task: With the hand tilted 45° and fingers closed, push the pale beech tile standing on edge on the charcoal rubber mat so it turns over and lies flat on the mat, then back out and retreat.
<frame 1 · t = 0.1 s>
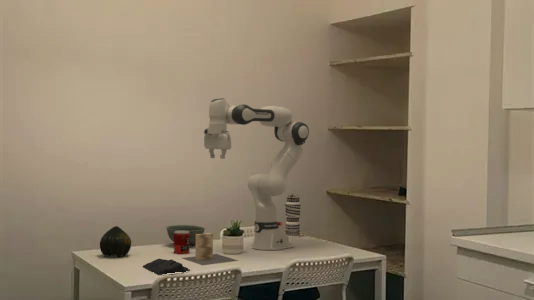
hand: (217, 158, 319), 48 cm above the table, tool pointing down, fingers open, 8 cm apart
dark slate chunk: (165, 271, 282), on the table
canned food: (181, 253, 319), on the table
beech tile: (204, 259, 304), resting on rubber mat
bowl: (185, 245, 342), on the table
rubber mat: (209, 260, 304), on the table
decorative candle: (292, 236, 378), on the table
squash: (115, 256, 311), on the table
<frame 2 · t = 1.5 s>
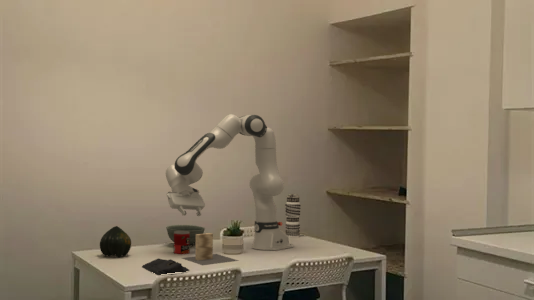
hand: (192, 215, 312), 20 cm above the table, tool tilted 45°, fingers open, 8 cm apart
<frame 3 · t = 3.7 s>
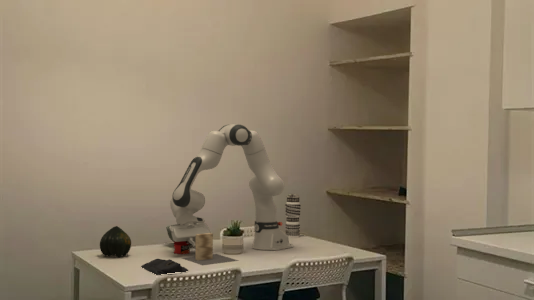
hand: (196, 246, 309), 6 cm above the table, tool tilted 45°, fingers closed
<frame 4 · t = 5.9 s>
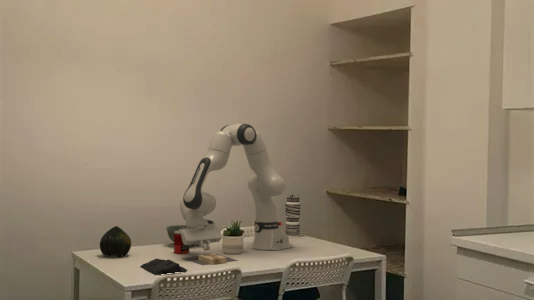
hand: (207, 249, 301), 5 cm above the table, tool tilted 45°, fingers closed
beech tile: (205, 256, 303), point 2 cm above the table, tilted 90°, touching rubber mat
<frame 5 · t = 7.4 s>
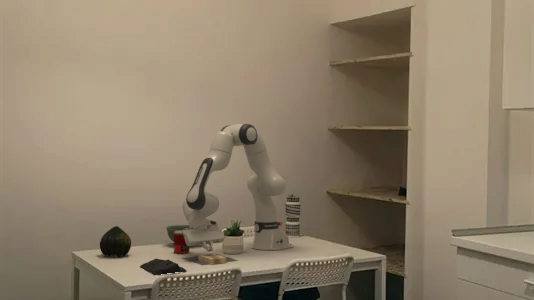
hand: (210, 250, 299), 5 cm above the table, tool tilted 45°, fingers closed
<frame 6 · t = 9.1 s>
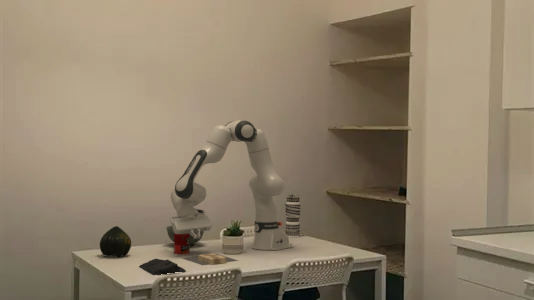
hand: (197, 238, 309), 9 cm above the table, tool tilted 45°, fingers closed
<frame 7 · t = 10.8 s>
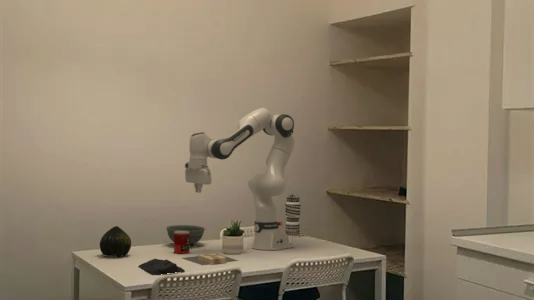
hand: (198, 192, 320), 31 cm above the table, tool pointing down, fingers closed
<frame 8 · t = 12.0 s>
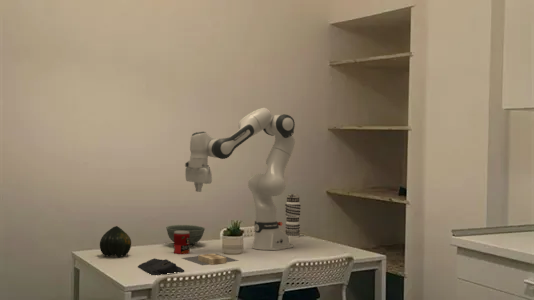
hand: (198, 191, 320), 31 cm above the table, tool pointing down, fingers closed
at the end: beech tile tilted 90°; beech tile inside the target area (1.9 cm from its centre), point 1.6 cm above the table; the gripper is holding nothing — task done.
